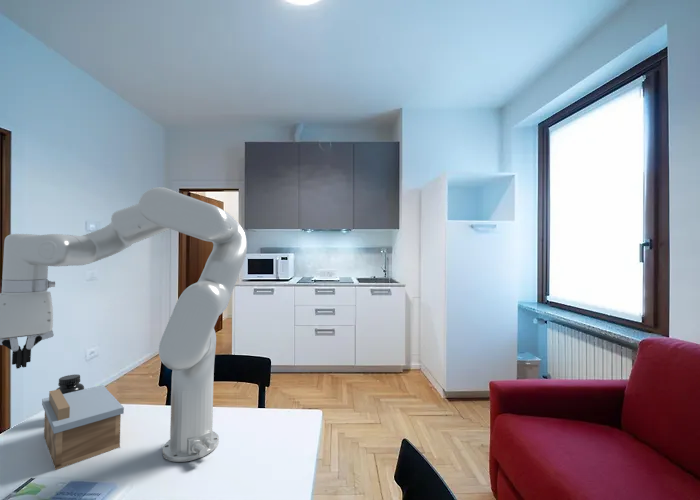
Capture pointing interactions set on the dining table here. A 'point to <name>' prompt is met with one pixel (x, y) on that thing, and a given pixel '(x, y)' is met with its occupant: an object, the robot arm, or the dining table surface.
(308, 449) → the dining table surface
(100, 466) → the dining table surface
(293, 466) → the dining table surface
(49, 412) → the toolbox lid
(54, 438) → the toolbox
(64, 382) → the supplement bottle
